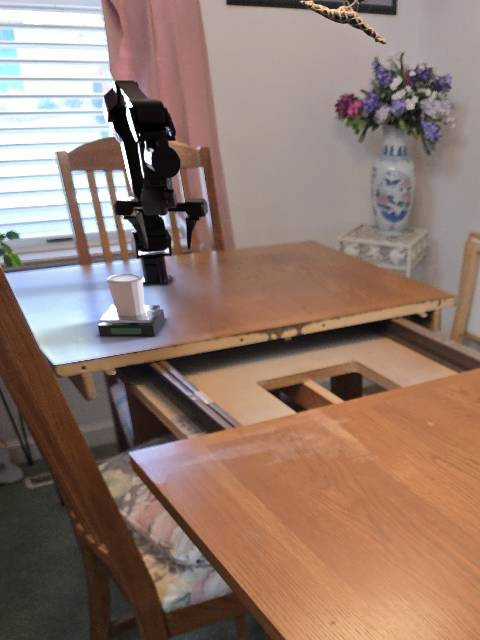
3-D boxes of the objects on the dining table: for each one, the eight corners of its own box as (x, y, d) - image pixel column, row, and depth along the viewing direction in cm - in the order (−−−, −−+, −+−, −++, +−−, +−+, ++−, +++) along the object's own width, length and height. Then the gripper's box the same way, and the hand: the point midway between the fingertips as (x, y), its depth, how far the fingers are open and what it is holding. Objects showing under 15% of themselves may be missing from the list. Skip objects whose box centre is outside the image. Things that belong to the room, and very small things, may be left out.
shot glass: (153, 308, 150) (147, 274, 146) (140, 318, 145) (133, 283, 141) (122, 306, 151) (115, 272, 147) (108, 316, 145) (100, 281, 141)
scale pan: (112, 307, 152) (111, 304, 151) (160, 307, 153) (159, 305, 152) (100, 322, 144) (99, 319, 143) (150, 323, 145) (150, 320, 144)
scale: (113, 318, 154) (110, 306, 152) (164, 319, 155) (163, 307, 153) (99, 336, 144) (96, 324, 143) (154, 336, 145) (152, 324, 144)
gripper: (100, 175, 141) (116, 257, 150) (195, 177, 142) (205, 258, 151) (114, 167, 150) (128, 245, 159) (203, 169, 151) (212, 246, 160)
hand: (168, 248), depth 157 cm, fingers open, 9 cm apart
